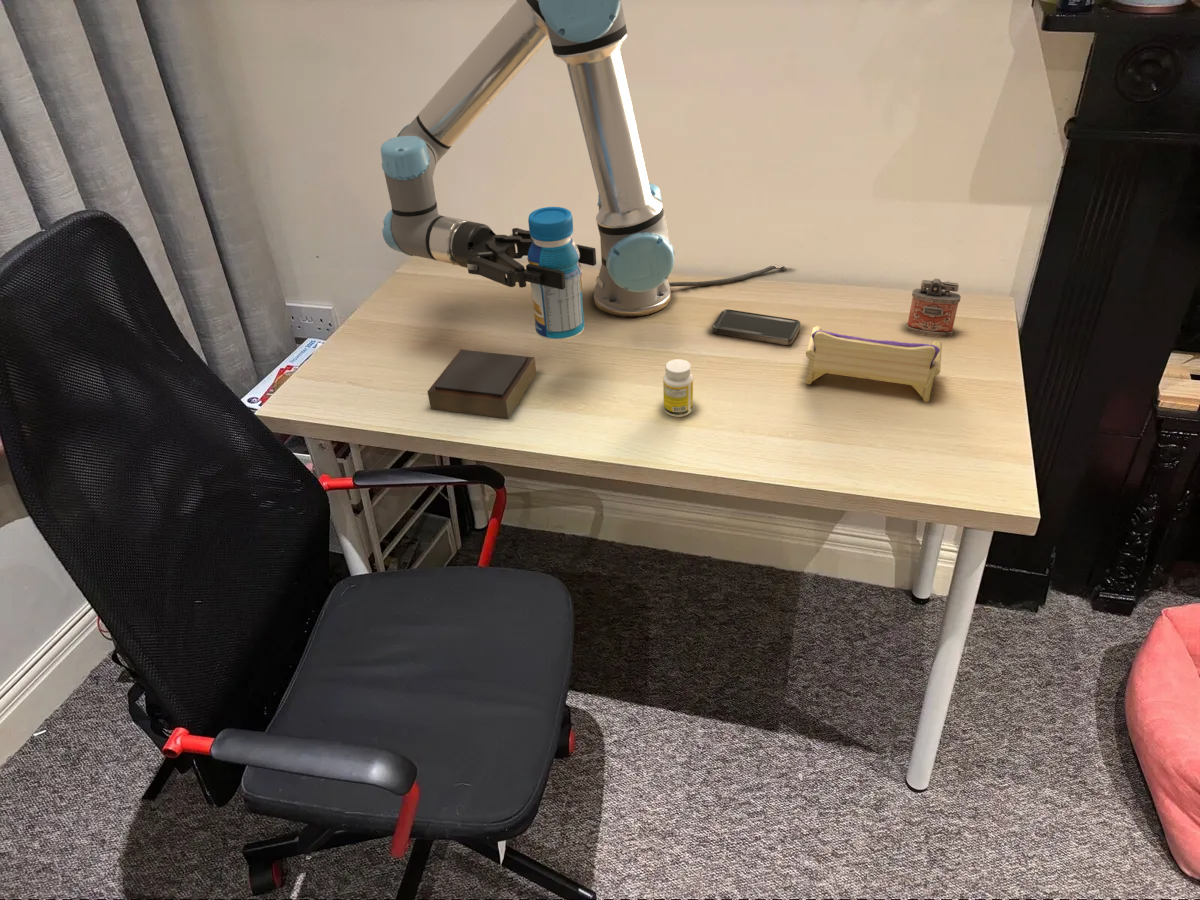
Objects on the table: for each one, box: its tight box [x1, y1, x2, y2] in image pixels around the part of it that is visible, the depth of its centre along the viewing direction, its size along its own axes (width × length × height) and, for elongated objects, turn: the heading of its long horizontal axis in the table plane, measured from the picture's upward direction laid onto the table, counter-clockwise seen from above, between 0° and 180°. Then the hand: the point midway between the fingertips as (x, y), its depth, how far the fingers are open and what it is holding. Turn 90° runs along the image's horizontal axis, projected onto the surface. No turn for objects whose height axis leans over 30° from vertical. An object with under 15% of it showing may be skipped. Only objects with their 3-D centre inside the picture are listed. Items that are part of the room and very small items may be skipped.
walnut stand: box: [427, 348, 537, 420], centre depth 147 cm, size 14×14×4 cm
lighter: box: [905, 278, 962, 338], centre depth 153 cm, size 8×3×10 cm, turn 68°
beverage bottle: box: [527, 206, 585, 342], centre depth 136 cm, size 8×8×20 cm
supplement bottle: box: [662, 358, 694, 418], centre depth 138 cm, size 5×5×8 cm
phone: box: [712, 308, 801, 346], centre depth 160 cm, size 8×1×15 cm
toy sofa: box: [805, 325, 943, 402], centre depth 141 cm, size 21×9×10 cm, turn 71°
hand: (579, 268), depth 133 cm, fingers closed on beverage bottle, 8 cm apart
